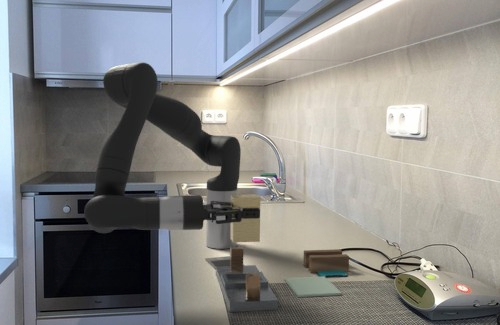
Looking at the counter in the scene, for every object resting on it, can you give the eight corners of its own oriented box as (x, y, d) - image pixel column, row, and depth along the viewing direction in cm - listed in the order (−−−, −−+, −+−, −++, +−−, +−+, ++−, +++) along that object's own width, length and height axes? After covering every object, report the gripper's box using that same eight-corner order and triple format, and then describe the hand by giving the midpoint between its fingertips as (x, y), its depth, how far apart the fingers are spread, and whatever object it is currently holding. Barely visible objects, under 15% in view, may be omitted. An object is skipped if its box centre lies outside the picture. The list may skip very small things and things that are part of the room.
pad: (284, 280, 126) (284, 278, 126) (324, 278, 128) (324, 276, 128) (297, 297, 114) (297, 294, 114) (341, 295, 116) (341, 292, 116)
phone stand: (303, 265, 139) (303, 250, 139) (339, 263, 141) (339, 249, 140) (311, 273, 132) (311, 257, 132) (348, 271, 134) (349, 256, 133)
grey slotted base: (215, 274, 130) (215, 246, 129) (255, 272, 132) (255, 245, 131) (229, 312, 105) (230, 278, 105) (278, 309, 107) (278, 276, 106)
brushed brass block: (230, 238, 119) (230, 194, 118) (256, 237, 120) (256, 194, 119) (233, 242, 115) (233, 197, 114) (259, 241, 116) (260, 197, 115)
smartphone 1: (252, 273, 132) (252, 270, 132) (221, 276, 129) (221, 273, 129) (232, 258, 146) (232, 255, 146) (204, 260, 143) (204, 258, 143)
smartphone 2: (329, 258, 144) (348, 274, 130) (329, 261, 144) (348, 277, 130) (304, 259, 143) (320, 276, 128) (304, 262, 143) (320, 279, 128)
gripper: (182, 201, 107) (264, 200, 110) (179, 190, 121) (252, 189, 124) (182, 237, 108) (263, 234, 111) (179, 222, 122) (251, 220, 125)
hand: (257, 211), depth 117 cm, fingers closed on brushed brass block, 4 cm apart
